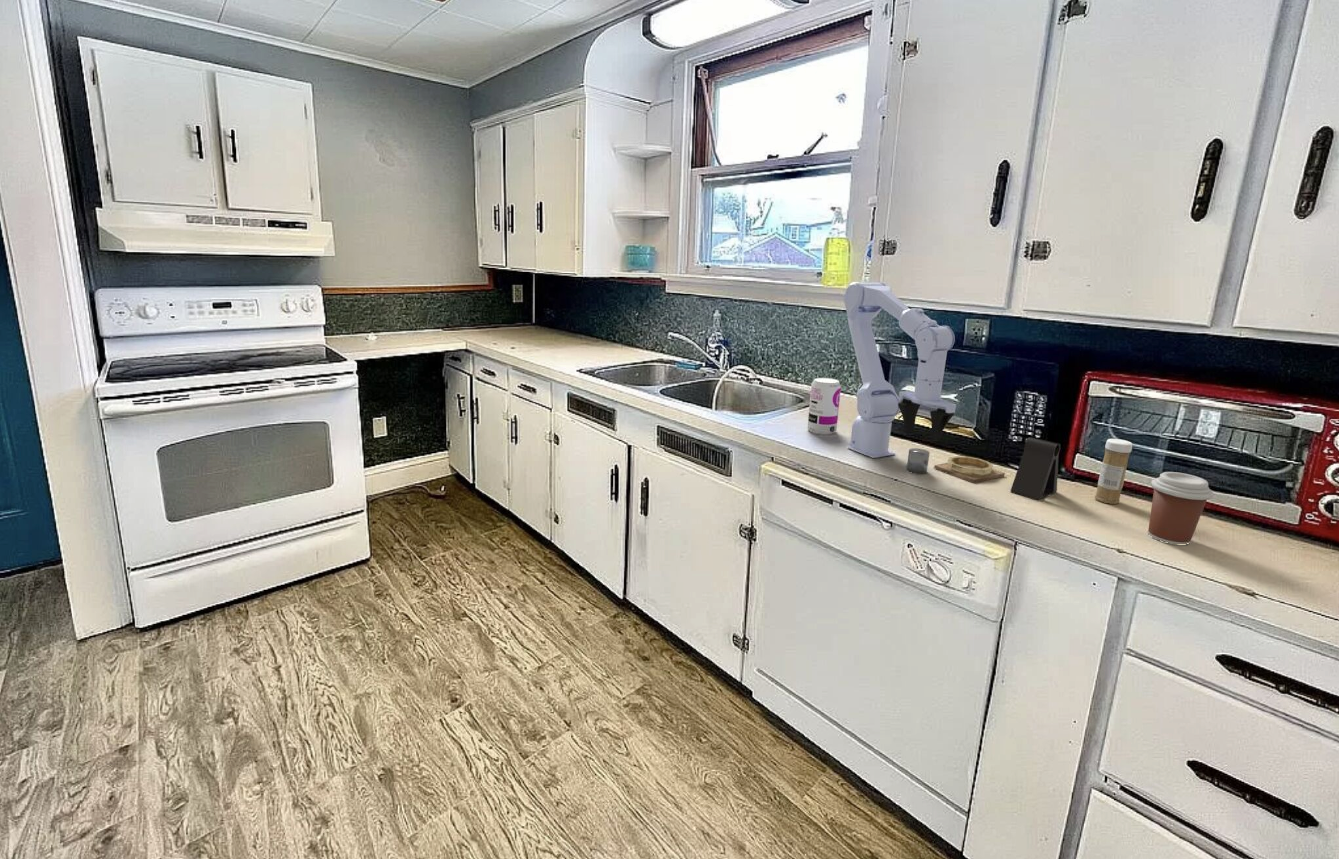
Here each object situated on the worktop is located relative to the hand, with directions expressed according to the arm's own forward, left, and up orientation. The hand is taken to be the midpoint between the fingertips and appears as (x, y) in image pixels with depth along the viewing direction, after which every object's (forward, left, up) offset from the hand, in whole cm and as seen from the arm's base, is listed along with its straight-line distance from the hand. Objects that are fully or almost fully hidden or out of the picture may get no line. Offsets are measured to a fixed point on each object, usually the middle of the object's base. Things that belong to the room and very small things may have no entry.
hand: (921, 435), depth 151 cm
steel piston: (0, 0, -9) cm, 9 cm away
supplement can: (-36, +2, -9) cm, 37 cm away
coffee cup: (+47, +14, -9) cm, 50 cm away
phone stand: (+21, +13, -9) cm, 26 cm away
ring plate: (+6, +11, -9) cm, 15 cm away
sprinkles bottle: (+31, +23, -9) cm, 40 cm away
